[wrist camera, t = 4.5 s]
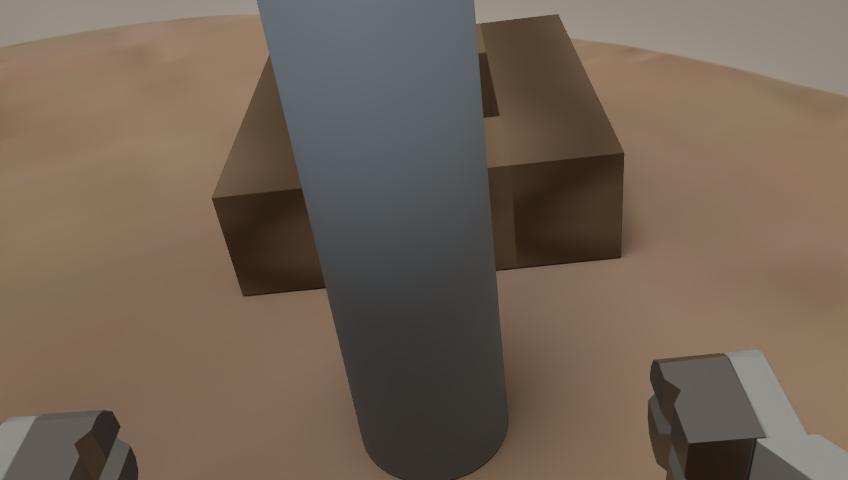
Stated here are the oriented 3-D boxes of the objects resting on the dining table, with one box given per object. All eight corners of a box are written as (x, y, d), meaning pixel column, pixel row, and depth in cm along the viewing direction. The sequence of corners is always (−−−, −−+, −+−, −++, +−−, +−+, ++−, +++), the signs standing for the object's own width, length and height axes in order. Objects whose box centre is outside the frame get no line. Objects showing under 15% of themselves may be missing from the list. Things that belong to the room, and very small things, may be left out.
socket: (243, 295, 27) (211, 197, 25) (290, 127, 38) (271, 48, 35) (620, 257, 26) (624, 152, 24) (559, 96, 37) (557, 14, 35)
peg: (332, 431, 21) (183, -118, 13) (431, 351, 23) (354, -162, 16) (437, 510, 19) (330, -105, 11) (538, 412, 21) (510, -160, 13)
